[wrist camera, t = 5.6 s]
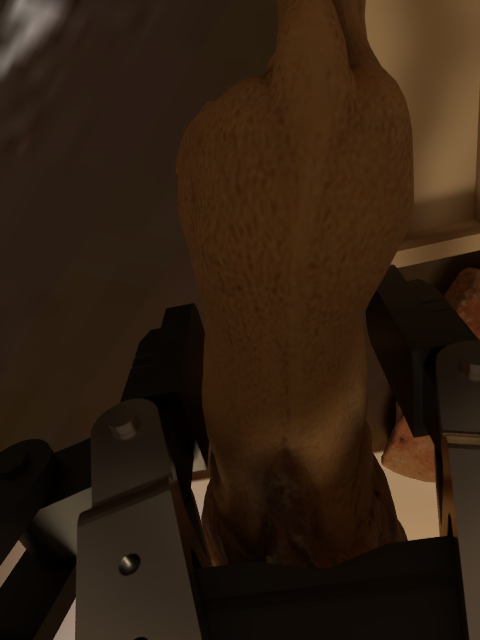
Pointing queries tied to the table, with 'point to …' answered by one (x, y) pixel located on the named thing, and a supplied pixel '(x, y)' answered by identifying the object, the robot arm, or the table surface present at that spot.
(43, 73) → the table surface
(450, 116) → the rectangular tray
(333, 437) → the lion figurine
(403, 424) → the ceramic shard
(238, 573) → the robot arm
